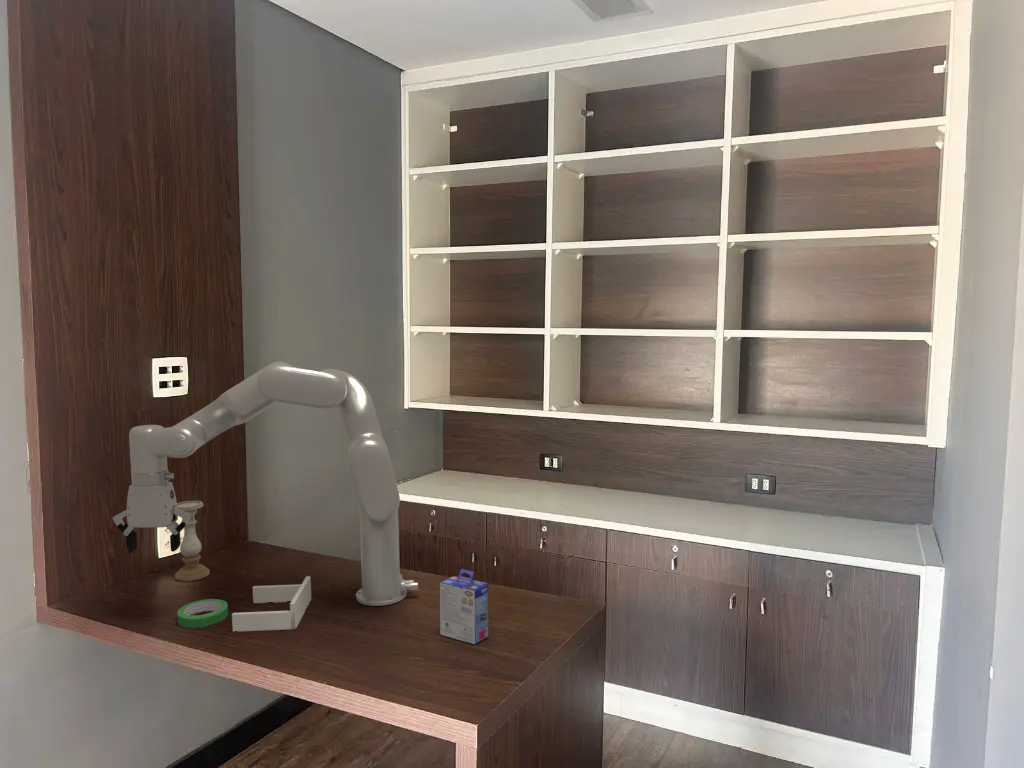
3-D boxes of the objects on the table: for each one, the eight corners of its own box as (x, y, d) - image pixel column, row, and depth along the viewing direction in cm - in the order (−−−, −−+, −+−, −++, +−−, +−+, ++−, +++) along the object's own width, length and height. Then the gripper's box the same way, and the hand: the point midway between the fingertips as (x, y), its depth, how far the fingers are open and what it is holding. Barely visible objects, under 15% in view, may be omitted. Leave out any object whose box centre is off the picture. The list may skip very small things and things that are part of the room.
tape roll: (209, 631, 163) (208, 619, 163) (167, 627, 166) (166, 615, 166) (237, 611, 174) (237, 600, 174) (198, 607, 177) (197, 597, 176)
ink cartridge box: (490, 635, 158) (489, 572, 157) (476, 645, 154) (474, 580, 152) (454, 626, 163) (452, 564, 162) (439, 635, 159) (437, 572, 157)
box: (311, 599, 180) (310, 576, 179) (295, 629, 163) (294, 603, 162) (254, 601, 179) (253, 578, 178) (232, 631, 162) (231, 606, 161)
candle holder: (179, 584, 191) (174, 510, 189) (171, 575, 198) (166, 503, 196) (213, 576, 197) (209, 504, 195) (204, 567, 203) (200, 498, 201)
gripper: (194, 474, 170) (197, 544, 172) (119, 475, 169) (123, 546, 171) (181, 481, 163) (185, 554, 164) (103, 483, 162) (107, 556, 163)
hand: (154, 550), depth 168 cm, fingers open, 9 cm apart
